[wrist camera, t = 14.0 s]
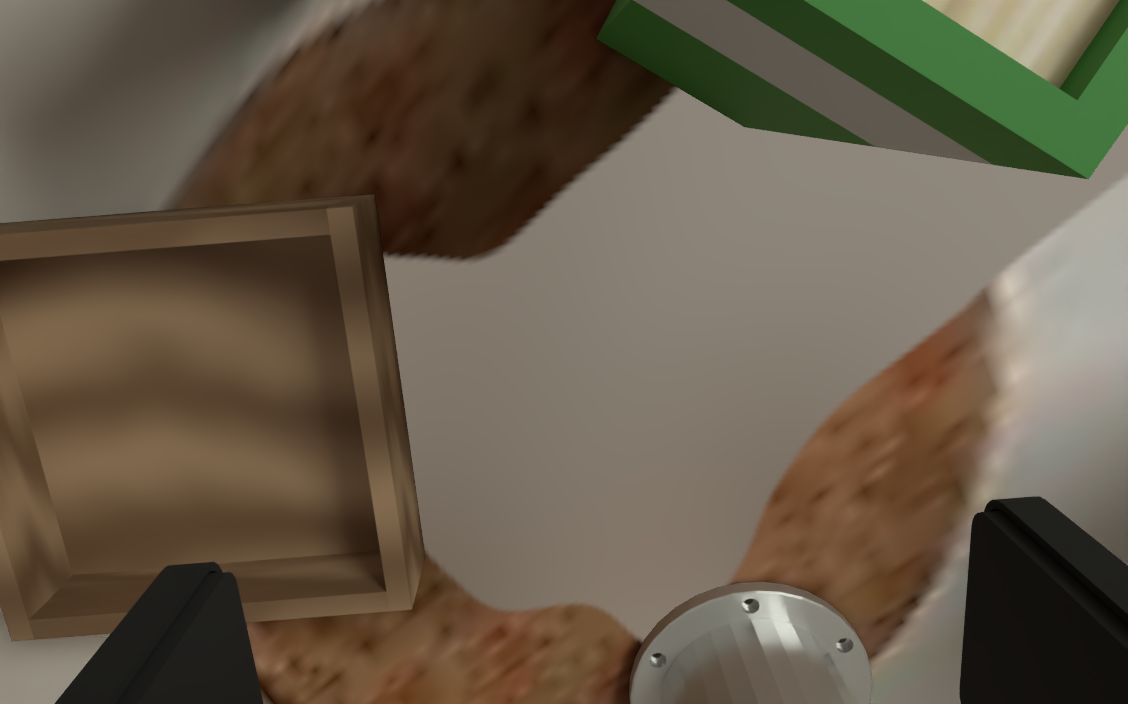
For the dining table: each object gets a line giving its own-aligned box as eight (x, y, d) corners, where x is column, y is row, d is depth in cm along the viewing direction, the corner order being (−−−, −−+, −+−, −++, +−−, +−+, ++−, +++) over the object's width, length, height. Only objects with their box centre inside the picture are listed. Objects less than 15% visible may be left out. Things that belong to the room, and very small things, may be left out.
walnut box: (425, 556, 42) (412, 609, 38) (66, 585, 42) (11, 641, 38) (374, 193, 37) (352, 206, 32) (-36, 226, 37) (-113, 243, 32)
